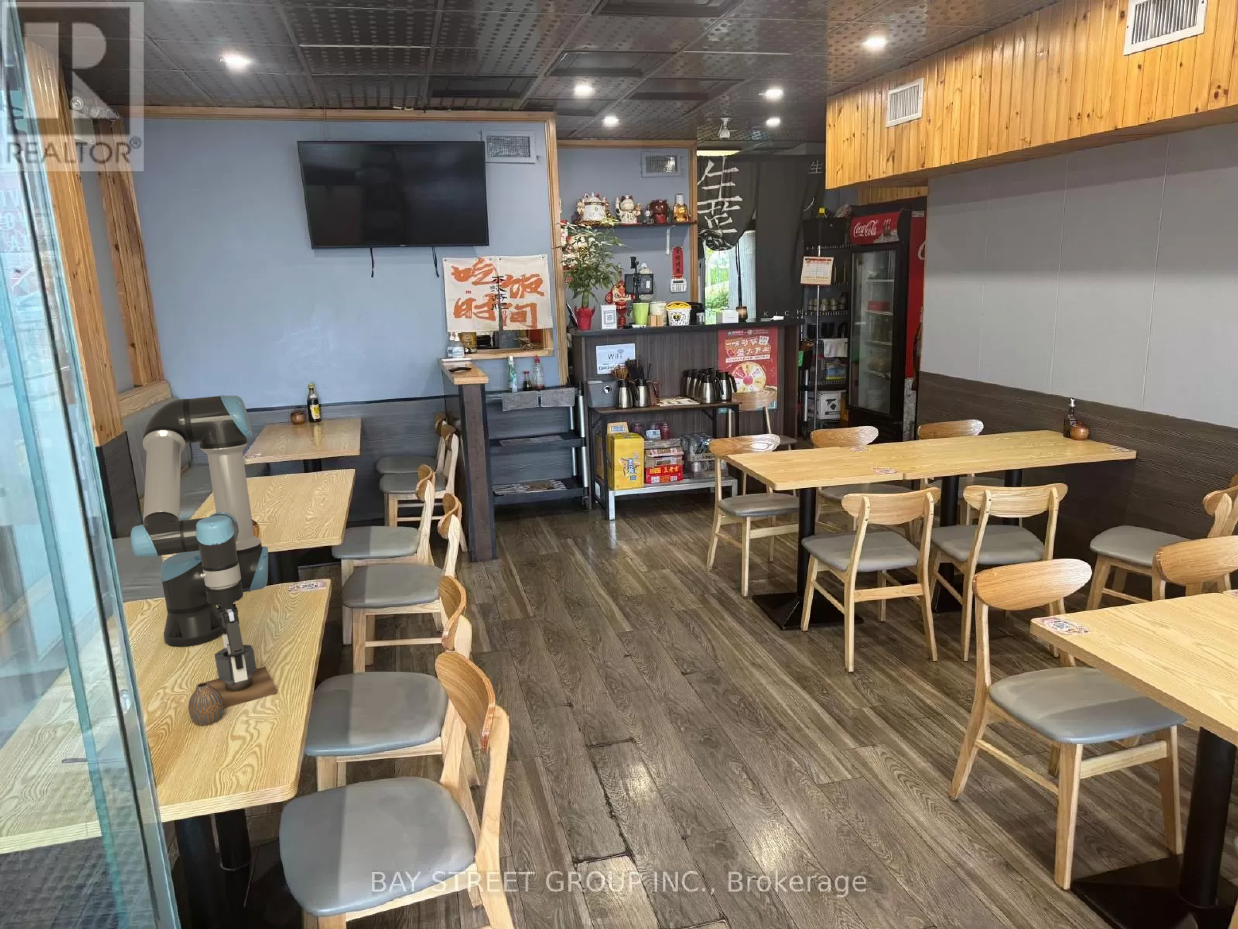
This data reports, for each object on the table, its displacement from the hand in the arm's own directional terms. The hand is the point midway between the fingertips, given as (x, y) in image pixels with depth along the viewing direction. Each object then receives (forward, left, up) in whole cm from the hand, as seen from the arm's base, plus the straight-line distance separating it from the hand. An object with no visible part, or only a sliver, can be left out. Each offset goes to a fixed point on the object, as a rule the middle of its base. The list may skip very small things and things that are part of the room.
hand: (236, 669), depth 195 cm
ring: (0, 0, -1) cm, 1 cm away
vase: (+11, -8, -5) cm, 15 cm away
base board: (0, 0, -5) cm, 5 cm away
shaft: (0, 0, -4) cm, 4 cm away
